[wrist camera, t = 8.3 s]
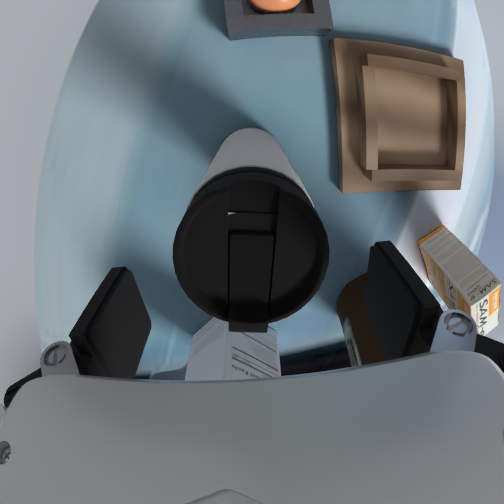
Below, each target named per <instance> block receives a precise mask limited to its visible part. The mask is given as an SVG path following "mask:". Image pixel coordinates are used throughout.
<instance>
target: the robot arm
mask: <svg viewBox="0 0 504 504" xmlns="http://www.w3.org/2000/svg"><path fill="white" fill-rule="evenodd" d="M364 310H365V312H366V314H367V317H368V319H369V321H370V323H371V326H372V328H373V330H374V332H375V335H376V337H377V339H378V342H379V344H380V347H381V349H382V351H383V354H384V356H385V359H386V361H383V362H378V363H372V364H367V365H361V366H355V367H349V368H343V369H337V370H330V371H323V372H316V373H308V374H299V375H290V376H280V377H268V378H255V379H237V380H207V381H174V380H144V379H134V377H135V374H136V371H137V368H138V365H139V362H140V359H141V356H142V353H143V350H144V347H145V344H146V341H147V339H148V336H149V333H150V330H151V320H150V317H149V315H148V312H147V310H146V308H145V305H144V303H143V300H142V298H141V295H140V292H139V290H138V287H137V285H136V282H135V279H134V276H133V274H132V272H131V270H128V269H127V268H126V267H115V268H112V269H111V270H110V271H109V273H108V274H107V276H106V277H105V279H104V280H103V282H102V283H101V285H100V286H99V288H98V289H97V291H96V292H95V294H94V295H93V297H92V298H91V300H90V301H89V303H88V305H87V306H86V308H85V309H84V311H83V313H82V314H81V316H80V317H79V319H78V321H77V322H76V324H75V326H74V327H73V329H72V331H71V332H70V334H69V337H70V339H71V340H72V341H71V343H70V344H69V343H68V342H66V341H58V342H55V343H53V344H51V345H50V346H48V347H47V348H46V349H45V350H44V352H43V353H42V355H41V358H40V365H41V368H40V369H38V370H36V371H35V372H33V373H31V374H30V375H28V376H26V377H25V378H23V379H21V380H19V381H18V382H16V383H14V384H13V385H11V386H10V387H9V388H8V389H7V391H6V394H5V397H4V406H3V405H2V404H0V504H504V344H503V343H500V342H498V341H495V340H493V339H490V338H488V337H485V336H483V335H480V334H478V333H477V325H476V322H475V320H474V319H473V318H472V317H471V316H470V315H469V314H467V313H466V312H463V311H461V310H456V309H452V310H447V311H445V312H444V311H443V310H442V309H441V307H440V304H439V303H438V301H437V300H436V299H435V297H434V296H433V294H432V293H431V292H430V290H429V289H428V288H427V286H426V285H425V284H424V282H423V281H422V280H421V278H420V277H419V276H418V275H417V273H416V272H415V271H414V269H413V268H412V267H411V266H410V264H409V263H408V262H407V261H406V259H405V258H404V257H403V256H402V255H401V253H400V252H399V251H398V250H397V248H396V247H395V246H394V245H393V244H392V242H391V241H381V242H376V243H375V244H374V246H371V248H370V255H369V264H368V273H367V281H366V288H365V295H364Z"/></svg>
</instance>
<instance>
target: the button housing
mask: <svg viewBox="0 0 504 504" xmlns="http://www.w3.org/2000/svg"><path fill="white" fill-rule="evenodd" d="M224 7H225V14H226V22H227V30H228V35H229V37H230V40H239V39H248V38H259V37H274V36H325V35H326V34H327V33H329V32H330V31H331V30H333V22H332V16H331V10H330V4H329V0H301V1H300V2H299V4H298V6H297V7H296V8H295V9H294V10H293V11H291V12H289V13H287V14H263V13H261V12H259V11H257V10H255V9H254V8H253V7H252V6H251V5H250V4H249V2H248V0H224Z"/></svg>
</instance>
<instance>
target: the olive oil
mask: <svg viewBox="0 0 504 504" xmlns="http://www.w3.org/2000/svg"><path fill="white" fill-rule="evenodd" d="M366 281H367V274H365V275H362V276H360V277H358V278H356V279H355V280H353V281H352V282H351V283H349V284H348V285H347V286H346V287H345V288H344V290H343V291H342V293H341V294H340V296H339V299H338V302H337V311H338V315H339V318H340V322H341V325H342V329H343V333H344V336H345V340H346V344H347V348H348V352H349V356H350V361H351V365H352V367H355V366H361V365H367V364H372V363H378V362H383V361H386V359H385V356H384V354H383V351H382V349H381V347H380V344H379V342H378V339H377V337H376V335H375V332H374V330H373V328H372V326H371V323H370V321H369V319H368V317H367V314H366V312H365V310H364V295H365V288H366Z"/></svg>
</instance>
